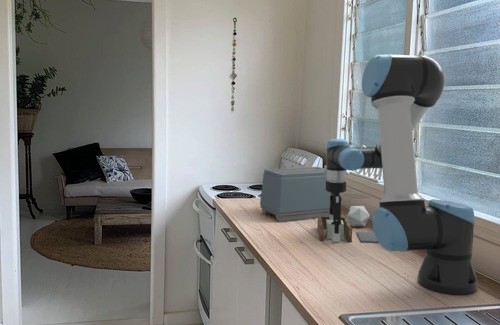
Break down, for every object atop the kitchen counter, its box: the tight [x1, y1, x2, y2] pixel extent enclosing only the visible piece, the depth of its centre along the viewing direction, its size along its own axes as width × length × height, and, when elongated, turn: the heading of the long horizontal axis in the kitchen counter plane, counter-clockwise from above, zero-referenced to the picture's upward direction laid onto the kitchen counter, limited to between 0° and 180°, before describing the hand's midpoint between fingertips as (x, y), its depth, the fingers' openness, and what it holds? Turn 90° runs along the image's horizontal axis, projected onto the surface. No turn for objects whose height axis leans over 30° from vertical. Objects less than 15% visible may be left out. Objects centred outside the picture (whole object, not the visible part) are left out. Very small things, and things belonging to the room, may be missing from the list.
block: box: [325, 220, 345, 241], centre depth 175 cm, size 6×6×6 cm
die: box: [346, 205, 371, 228], centre depth 192 cm, size 8×9×10 cm
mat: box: [356, 231, 380, 244], centre depth 174 cm, size 12×12×1 cm
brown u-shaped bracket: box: [317, 216, 353, 243], centre depth 178 cm, size 18×11×5 cm, turn 175°
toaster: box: [259, 166, 331, 223], centre depth 210 cm, size 19×35×20 cm, turn 114°
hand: (334, 236), depth 176 cm, fingers open, 13 cm apart
